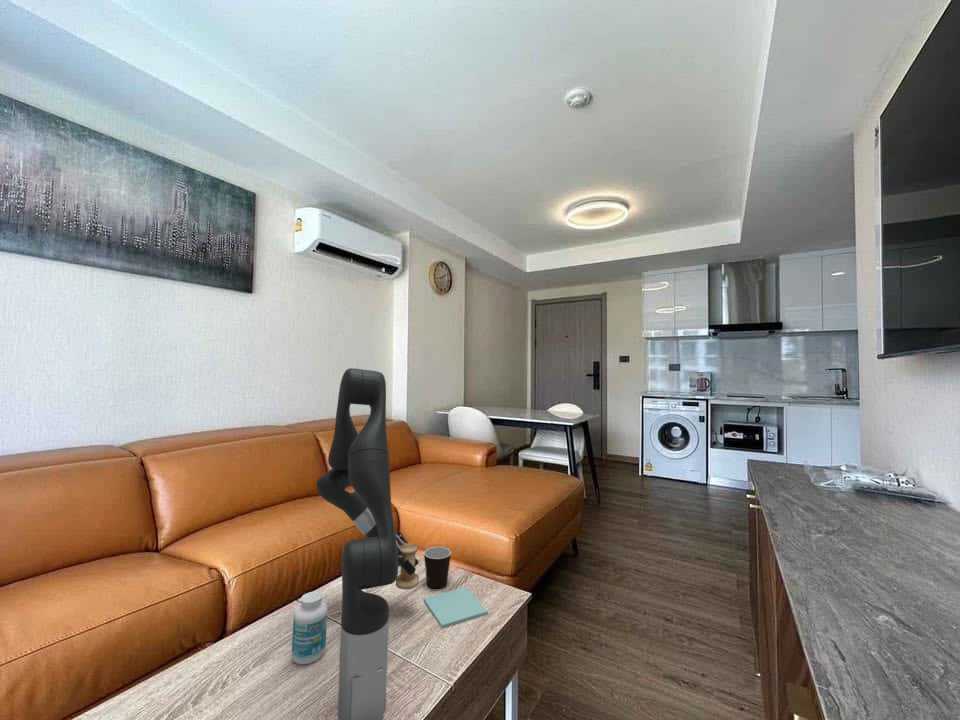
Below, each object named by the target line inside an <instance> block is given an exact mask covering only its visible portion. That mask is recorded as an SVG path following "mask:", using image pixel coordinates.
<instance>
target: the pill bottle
mask: <svg viewBox="0 0 960 720" xmlns="http://www.w3.org/2000/svg"><path fill="white" fill-rule="evenodd" d="M327 627H328V606H327V604H326V603H325V602H324V601H323V594H322V592H319V591H310V592H307V593H304V594H303V595H302V596H301V598H300V604H299V605H298V606H297V608H296V609H295V611H294V613H293V624H292V642H291V643H292V644H291V660H292V661H293V662H294V663H295V664H297V665H309V664H312V663H314V662H317V661H318V660H320V658H322V656H324V654H325V652H326V646H327Z"/></svg>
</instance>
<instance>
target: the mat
mask: <svg viewBox="0 0 960 720" xmlns="http://www.w3.org/2000/svg"><path fill="white" fill-rule="evenodd" d="M422 602H424V604H425V605H426V607H427V608H428V610H429V611H430V613H431V614H432V616H433V617H434V619H435V620H436V622H437V623H438V625H439V626H440V628H441V629H444V628H447V627H450V626H453V625H457V624H460V623H464V622H466V621H470V620H473V619H476V618H480V617H483V616H485V615H489V611H488V610H487V608H486V607H485V606H484V605H483V604H482V603H481V602H480V601H479V600H478V598H477V597H475V595H474V594H473V593H472V592H471V591H470V590H469V589H468V587H466V586H465V587H461V588H456V589H454V590H449V591H446V592H443V593H442V592H441V593H437V594H434V595H431V596H426V597H423V600H422Z"/></svg>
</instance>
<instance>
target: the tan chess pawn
mask: <svg viewBox="0 0 960 720" xmlns="http://www.w3.org/2000/svg"><path fill="white" fill-rule="evenodd" d="M400 547H401V548H402V554H404V556H405V557H406V558H407V560H408V561H409V562H410V563H411V564H412V565H413V566H414V567H415V568H416V566H415V558H416V553H417V552H418V549H419V548H418V547H419V546H418V545H417V544H415V543H412V542H411V543H410V542H408V543H407V544H404V545H401V546H400ZM419 585H420V576H419V575H418V574H417V573H416V571H415V572H414V573H413V574H412V575H409V574H408V573H407V572H406V571H405V570H404V569H403V568H402V567H401V566H400V574H397V578H396V580H395V586H396V587H397V588H398V589H401V590H411V589H414V588H416V587H418V586H419Z"/></svg>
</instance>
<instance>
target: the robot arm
mask: <svg viewBox="0 0 960 720" xmlns="http://www.w3.org/2000/svg"><path fill="white" fill-rule="evenodd" d="M386 388H387V382H386V378H385V376H384V374H383V372H380V371H377V370H376V371H375V370H370V369H363V368H353V367H352V368H351V367H350V368H347V369H346V370H345V371H344V372H343V375H342V376H341V381H340V384H339V390H338V391H339V392H338V397H337V405H336V413H335V425H334V432H333V438H332V442H331V446H330V450H329V453H328V459H327V462H328V465H329V466H330V469H329V470H328V471H326V472H325V473H324V474H322V475H321V476H320V477H319V478H318V479H317V480H316V486H315V487H316V490H317V493H318V494H319V496H320V497H321V498H322V499H323V500H325V501H326V502H327V503H329V504H331V505H333V506H335V507H336V508H338V509H340V510H341V511H342V512H344V513H345V514H346V516H348V517H349V518H350V520H351V521H352V522H353V523H354V525H355V526H356V528H357V529H358V530H359V531H360V533H362V535H364V536H365V538H364V537H363V538H357V539H350V540H348V541H347V542H346V543H345V545H343V546H344V547H343V549H342V554H341V556H342V557H341V583H342V585H341V589H342V590H341V592H342V595H341V596H342V597H341V598H342V599H341V601H342V602H341V617H340V619H341V620H340V638H339V639H340V642H339V643H340V644H339V666H338V667H339V671H338V695H337V696H338V697H337V698H338V699H337V703H338V704H337V718H338V720H384V712H385V711H386V706H387V681H388V679H387V677H388V676H387V675H388V674H387V673H388V648H389V647H388V644H389V643H388V642H389V617H390V615H389V614H390V607H389V603H388V601H387V600H386V599H385V598H384V597H383V596H381V595H378V594H376V593H375V594H374V593H370V592H366V591H364V590H367V589H373V588H377V587H383V586H387V585H392V584H393V583H394V582H395V583H396V578H397V576H398V575H399V567H400V568H401V567H402V568H403V569H404V570H405V571H406V572H407V573H408V574H409V575H412V574H413V573H414V572H415V573H416V570H417V569H416V566H417V565H418V564H419V560H418V559H417V557H415V567H414V566H413V565H412V564H411V563H410V562H409V561H408V560H407V558H406V557H405V556H404V554H402V548H401V547H400V546H401V545H404V544H407V543H409V542H408V540H407V539H406V538H405V536H404V535H403V534H402V532H401V531H400V530H398V531H397V532H396V529H395V524H394V523H395V521H394V515H393V506H392V495H391V470H390V469H391V468H390V467H391V466H390V455H389V452H390V451H389V445H388V434H387V418H386V415H387V414H386V413H387V411H386V410H387V389H386ZM351 405H361V406H369V408H370V413H369V417H368V419H367V420H366V422H365V424H364V426H363V427H362V429H361V430H360V431H359V433H358V431H357V429H356V426H355V424H354V421H353V420H352V416H351ZM350 485H351V487H352V489H353V490H354V491H353V492H349V491H347V490H346V489H347V488H348V487H349V486H350Z"/></svg>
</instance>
